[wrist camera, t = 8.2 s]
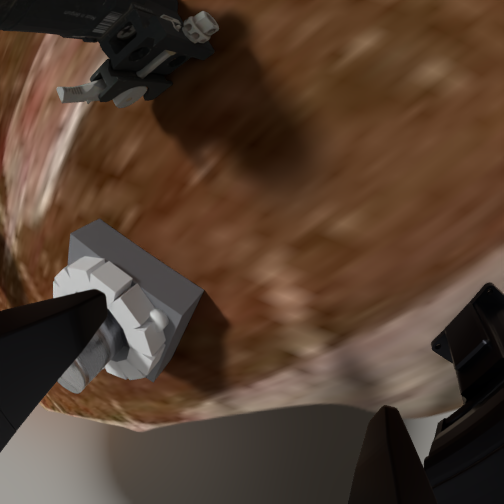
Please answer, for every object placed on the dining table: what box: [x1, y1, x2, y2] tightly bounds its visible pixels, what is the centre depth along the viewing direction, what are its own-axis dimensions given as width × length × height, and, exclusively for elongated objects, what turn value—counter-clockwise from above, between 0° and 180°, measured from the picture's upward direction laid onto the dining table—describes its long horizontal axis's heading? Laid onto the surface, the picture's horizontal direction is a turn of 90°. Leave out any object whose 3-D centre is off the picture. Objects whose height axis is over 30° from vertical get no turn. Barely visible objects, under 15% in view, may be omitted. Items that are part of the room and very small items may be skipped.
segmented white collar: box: [53, 219, 204, 382], centre depth 24 cm, size 11×10×6 cm
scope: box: [0, 0, 219, 108], centre depth 10 cm, size 8×14×10 cm
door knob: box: [57, 308, 128, 393], centre depth 20 cm, size 5×5×7 cm
